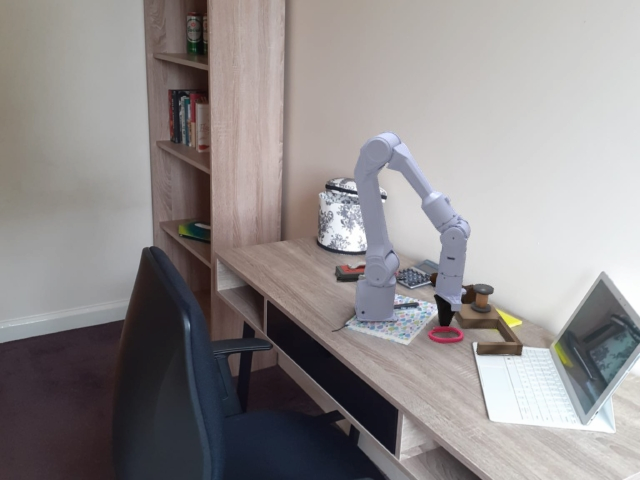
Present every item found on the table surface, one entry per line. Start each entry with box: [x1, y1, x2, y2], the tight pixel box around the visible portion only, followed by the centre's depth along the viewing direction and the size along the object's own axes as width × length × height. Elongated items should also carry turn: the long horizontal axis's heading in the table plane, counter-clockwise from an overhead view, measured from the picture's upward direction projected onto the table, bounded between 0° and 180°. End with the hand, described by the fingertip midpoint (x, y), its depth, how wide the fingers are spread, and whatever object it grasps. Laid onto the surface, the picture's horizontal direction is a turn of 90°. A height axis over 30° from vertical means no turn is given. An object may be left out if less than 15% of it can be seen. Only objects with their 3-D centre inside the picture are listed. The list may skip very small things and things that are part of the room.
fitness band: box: [427, 326, 465, 344], centre depth 136 cm, size 8×6×2 cm
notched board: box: [453, 303, 524, 356], centre depth 139 cm, size 10×20×2 cm, turn 4°
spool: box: [471, 283, 495, 313], centre depth 145 cm, size 5×5×6 cm
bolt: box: [429, 272, 477, 304], centre depth 159 cm, size 6×5×15 cm
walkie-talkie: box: [334, 260, 408, 283], centre depth 167 cm, size 9×4×20 cm
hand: (444, 325), depth 140 cm, fingers closed
